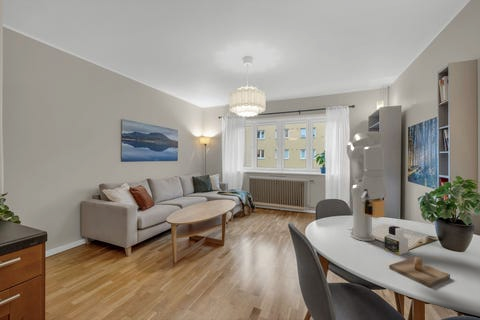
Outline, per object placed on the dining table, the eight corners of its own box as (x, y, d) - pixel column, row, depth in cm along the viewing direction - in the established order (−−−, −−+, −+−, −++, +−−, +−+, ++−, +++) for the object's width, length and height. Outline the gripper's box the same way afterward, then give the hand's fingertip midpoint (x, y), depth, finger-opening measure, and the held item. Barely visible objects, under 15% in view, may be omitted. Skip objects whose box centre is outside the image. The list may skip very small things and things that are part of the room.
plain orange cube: (362, 214, 95) (362, 199, 95) (371, 212, 97) (371, 198, 97) (375, 218, 89) (375, 202, 89) (384, 216, 92) (384, 200, 91)
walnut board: (389, 268, 88) (389, 254, 88) (409, 261, 94) (409, 248, 93) (429, 287, 75) (429, 271, 75) (450, 278, 81) (450, 263, 81)
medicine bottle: (384, 249, 106) (384, 226, 106) (393, 246, 109) (393, 224, 109) (399, 255, 100) (398, 230, 99) (408, 252, 102) (408, 228, 102)
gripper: (377, 172, 99) (377, 209, 100) (352, 174, 93) (352, 213, 93) (394, 173, 93) (394, 213, 93) (368, 175, 86) (368, 218, 86)
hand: (373, 212), depth 93 cm, fingers closed on plain orange cube, 6 cm apart
